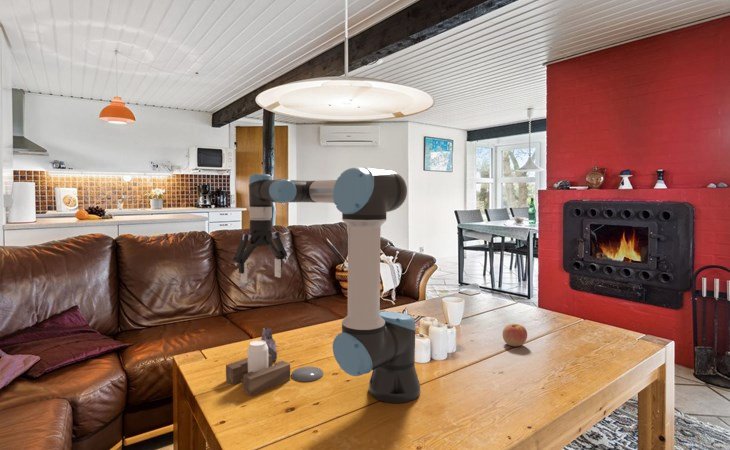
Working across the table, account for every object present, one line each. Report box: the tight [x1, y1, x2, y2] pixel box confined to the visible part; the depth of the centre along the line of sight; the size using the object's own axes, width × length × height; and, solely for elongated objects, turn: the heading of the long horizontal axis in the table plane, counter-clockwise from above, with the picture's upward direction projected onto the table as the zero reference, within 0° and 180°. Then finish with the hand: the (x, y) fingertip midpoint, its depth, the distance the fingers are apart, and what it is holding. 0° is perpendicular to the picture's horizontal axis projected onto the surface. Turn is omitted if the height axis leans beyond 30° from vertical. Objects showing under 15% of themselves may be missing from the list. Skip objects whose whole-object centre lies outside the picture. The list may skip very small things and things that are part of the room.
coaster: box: [291, 366, 324, 383], centre depth 129 cm, size 10×10×1 cm
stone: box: [260, 327, 278, 362], centre depth 143 cm, size 10×6×15 cm
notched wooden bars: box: [225, 354, 291, 397], centre depth 125 cm, size 14×14×5 cm
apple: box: [502, 323, 528, 347], centre depth 156 cm, size 9×9×8 cm
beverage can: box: [247, 339, 268, 373], centre depth 124 cm, size 6×6×12 cm
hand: (261, 279), depth 140 cm, fingers open, 13 cm apart
